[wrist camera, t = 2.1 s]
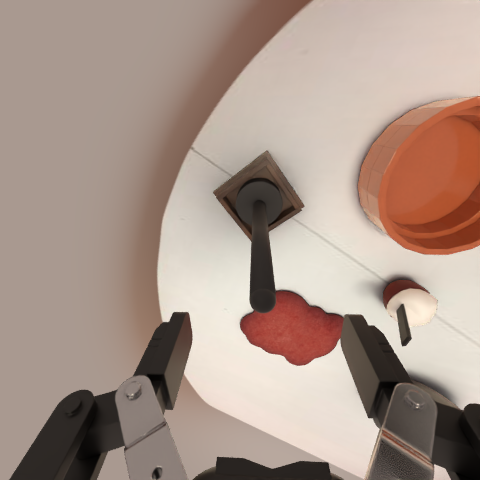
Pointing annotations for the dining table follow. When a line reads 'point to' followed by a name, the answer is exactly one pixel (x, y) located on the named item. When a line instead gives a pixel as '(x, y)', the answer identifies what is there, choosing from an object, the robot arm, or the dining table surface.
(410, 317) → the cocoa
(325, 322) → the patty
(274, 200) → the black plunger
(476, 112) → the orange round dish
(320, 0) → the dining table surface
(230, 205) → the small square brown tray
